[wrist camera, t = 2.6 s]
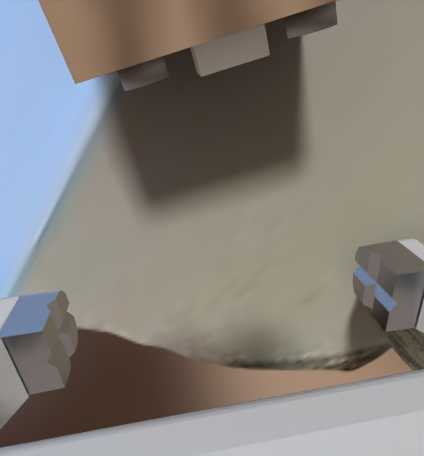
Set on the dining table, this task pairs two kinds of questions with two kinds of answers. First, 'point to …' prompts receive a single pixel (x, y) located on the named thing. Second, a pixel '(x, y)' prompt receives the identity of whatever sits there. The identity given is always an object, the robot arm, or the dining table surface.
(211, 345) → the dining table surface
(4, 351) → the robot arm
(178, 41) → the wooden block with knobs
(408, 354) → the tabletop clock
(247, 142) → the dining table surface
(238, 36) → the cream button
